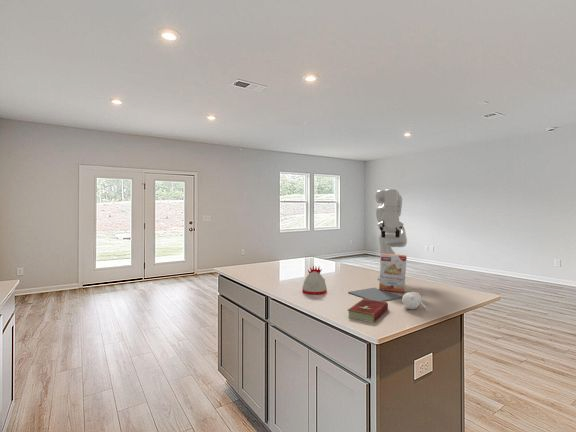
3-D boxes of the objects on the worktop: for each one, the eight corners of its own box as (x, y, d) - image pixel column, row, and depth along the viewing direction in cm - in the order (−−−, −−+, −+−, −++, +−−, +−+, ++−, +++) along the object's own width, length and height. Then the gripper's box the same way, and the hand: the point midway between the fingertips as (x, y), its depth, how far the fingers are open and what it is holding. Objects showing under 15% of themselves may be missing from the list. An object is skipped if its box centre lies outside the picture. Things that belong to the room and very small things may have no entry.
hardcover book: (387, 310, 154) (388, 301, 153) (374, 323, 136) (374, 313, 136) (363, 306, 160) (363, 297, 160) (347, 318, 142) (347, 309, 142)
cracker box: (379, 290, 187) (381, 254, 186) (379, 287, 192) (381, 252, 192) (404, 292, 183) (406, 256, 182) (404, 290, 188) (406, 254, 188)
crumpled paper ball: (414, 285, 161) (406, 289, 152) (432, 300, 156) (425, 305, 146) (404, 298, 164) (396, 303, 155) (422, 313, 159) (414, 319, 149)
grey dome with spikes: (325, 295, 178) (325, 268, 177) (300, 294, 181) (300, 267, 180) (327, 289, 191) (327, 264, 191) (304, 288, 194) (304, 263, 194)
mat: (374, 288, 193) (374, 287, 193) (403, 297, 174) (403, 296, 174) (348, 292, 183) (348, 291, 183) (376, 302, 164) (376, 301, 164)
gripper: (399, 209, 203) (399, 236, 203) (374, 209, 198) (374, 237, 198) (406, 209, 195) (406, 237, 196) (381, 209, 191) (381, 238, 191)
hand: (390, 237), depth 197 cm, fingers open, 9 cm apart
